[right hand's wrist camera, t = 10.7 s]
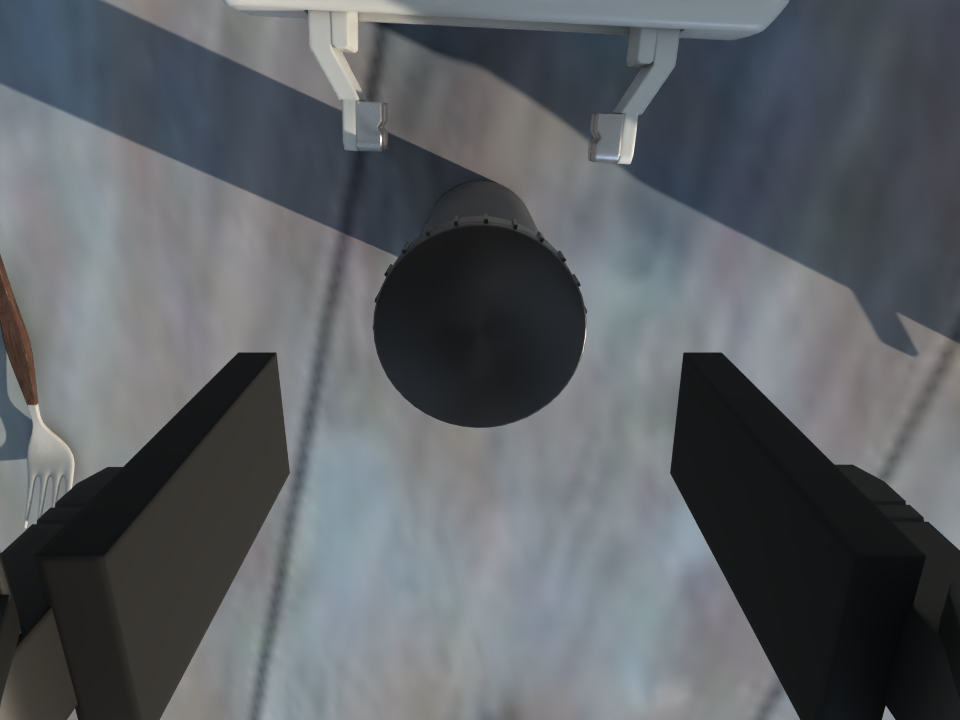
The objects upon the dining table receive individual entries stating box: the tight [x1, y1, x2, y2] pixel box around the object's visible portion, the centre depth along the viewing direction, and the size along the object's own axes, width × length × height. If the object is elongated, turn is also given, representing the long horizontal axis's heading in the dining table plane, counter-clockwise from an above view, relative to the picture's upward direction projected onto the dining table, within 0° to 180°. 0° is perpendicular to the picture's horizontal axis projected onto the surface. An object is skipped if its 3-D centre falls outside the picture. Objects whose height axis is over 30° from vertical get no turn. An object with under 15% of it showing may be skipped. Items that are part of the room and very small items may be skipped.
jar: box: [420, 181, 538, 235], centre depth 27 cm, size 5×5×15 cm
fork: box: [0, 255, 74, 528], centre depth 35 cm, size 3×16×2 cm, turn 0°
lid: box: [373, 213, 587, 428], centre depth 20 cm, size 6×6×2 cm
